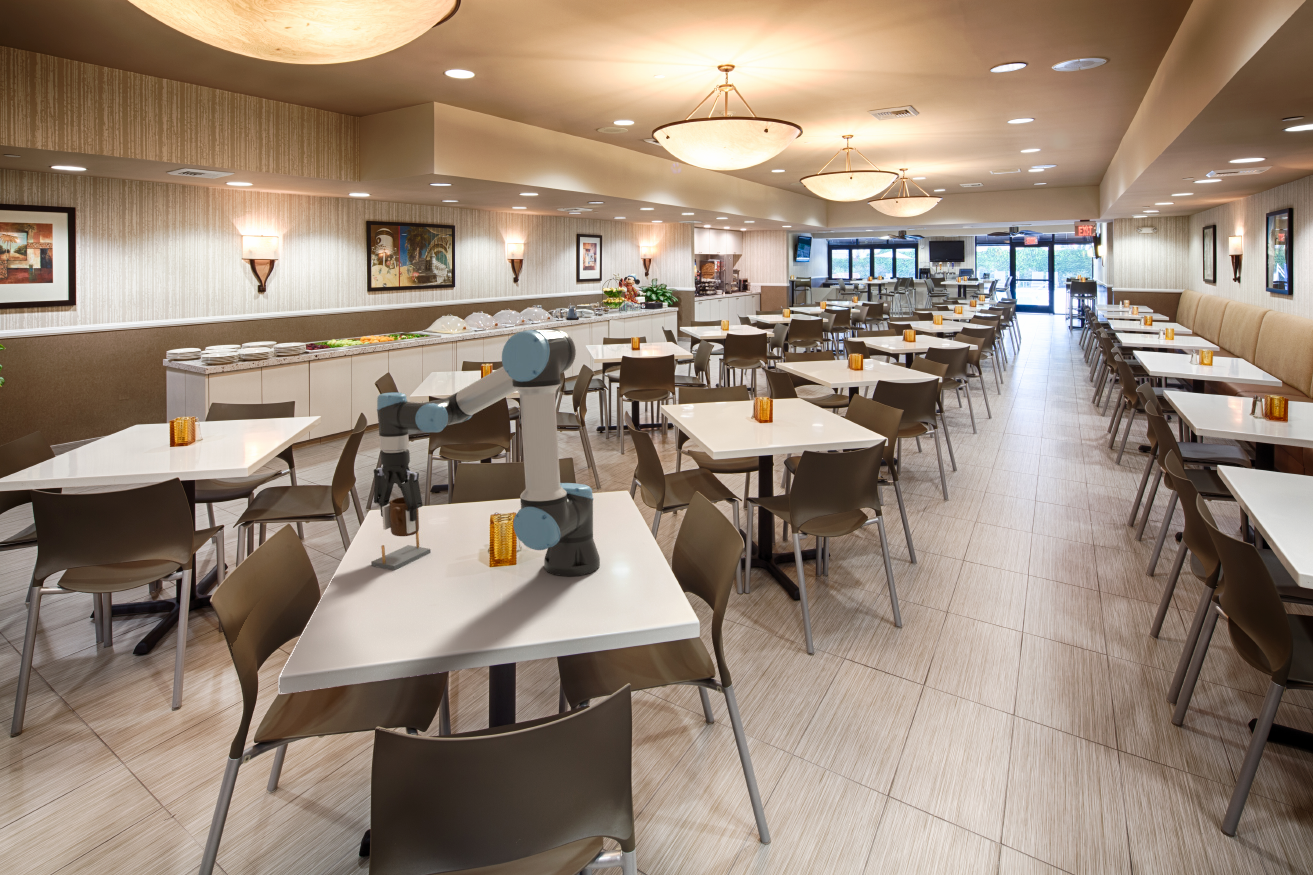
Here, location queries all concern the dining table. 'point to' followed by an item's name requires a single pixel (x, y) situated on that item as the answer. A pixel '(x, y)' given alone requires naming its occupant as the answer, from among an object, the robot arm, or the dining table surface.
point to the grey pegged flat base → (401, 556)
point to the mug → (400, 518)
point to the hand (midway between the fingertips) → (399, 529)
